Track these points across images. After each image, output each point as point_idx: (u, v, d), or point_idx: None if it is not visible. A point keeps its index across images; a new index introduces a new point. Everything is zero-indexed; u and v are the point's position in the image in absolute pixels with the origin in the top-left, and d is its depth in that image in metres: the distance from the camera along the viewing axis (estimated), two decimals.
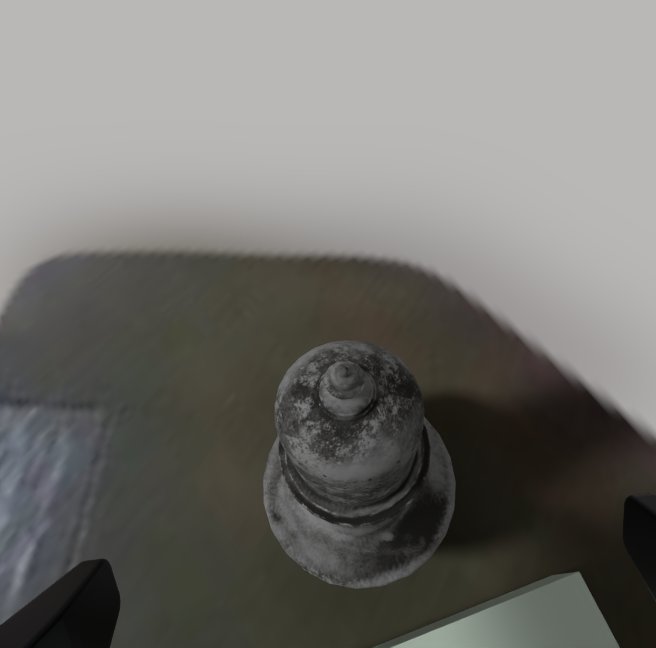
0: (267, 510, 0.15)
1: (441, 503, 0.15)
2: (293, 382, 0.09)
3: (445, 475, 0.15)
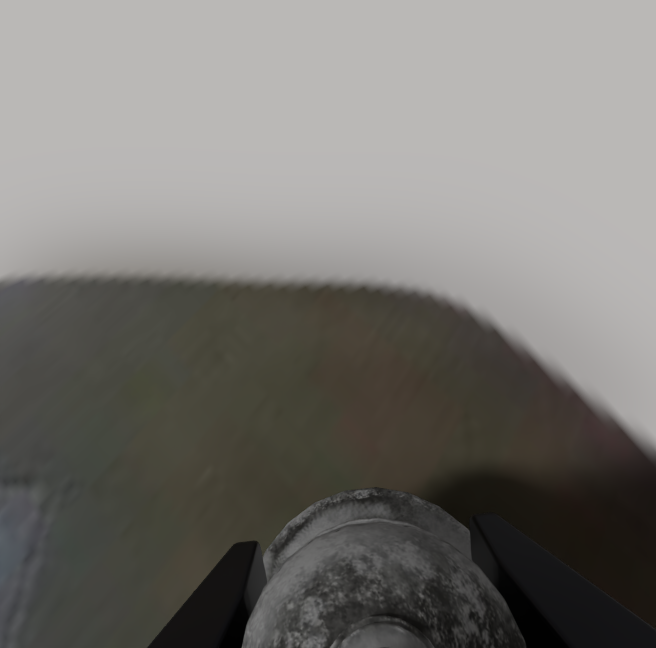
0: None
1: None
2: (272, 640, 0.05)
3: None
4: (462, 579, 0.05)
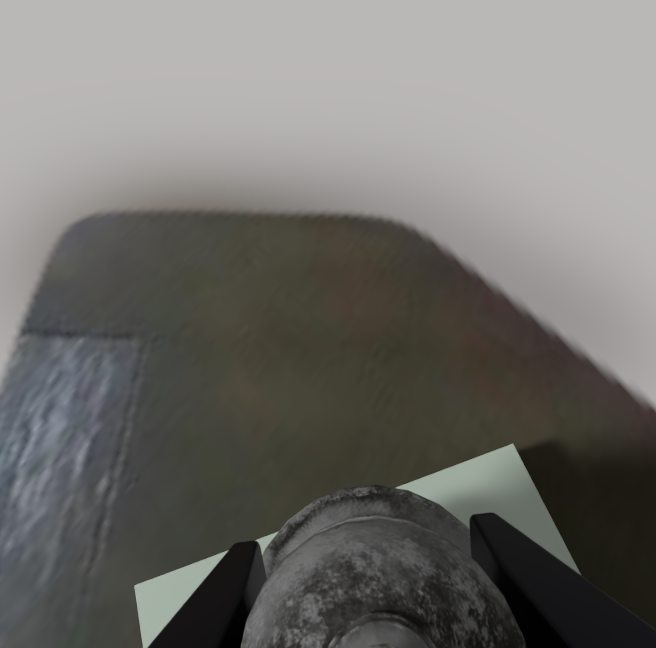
0: None
1: None
2: (272, 637, 0.05)
3: None
4: (461, 576, 0.05)
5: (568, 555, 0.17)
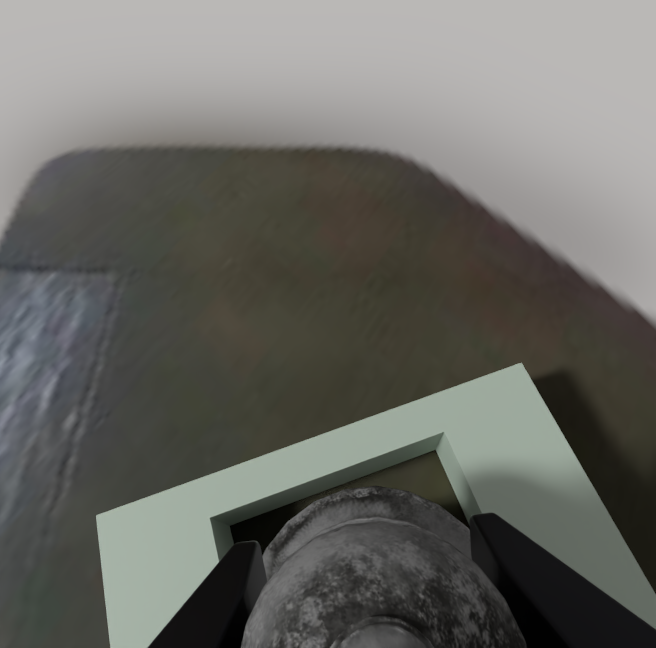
0: None
1: None
2: (271, 640, 0.04)
3: None
4: (462, 579, 0.05)
5: (585, 478, 0.15)
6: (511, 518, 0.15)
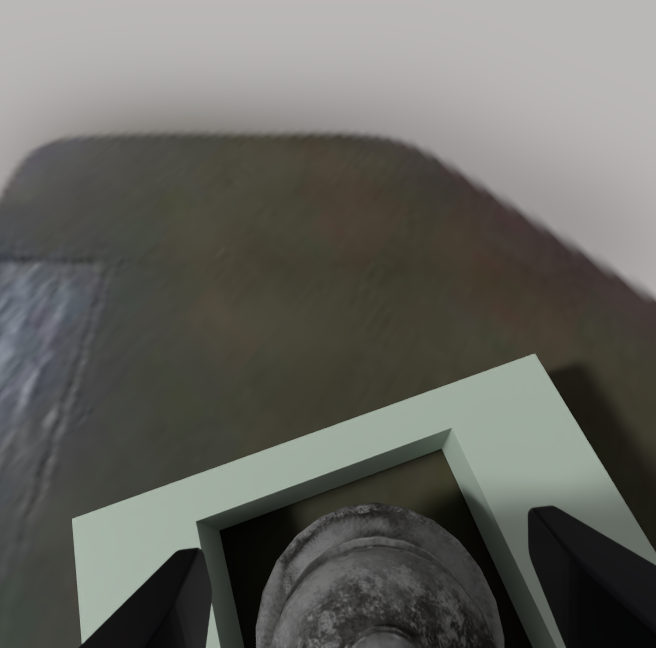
0: None
1: None
2: (296, 645, 0.06)
3: (490, 628, 0.12)
4: (445, 596, 0.06)
5: (607, 478, 0.14)
6: (526, 522, 0.14)
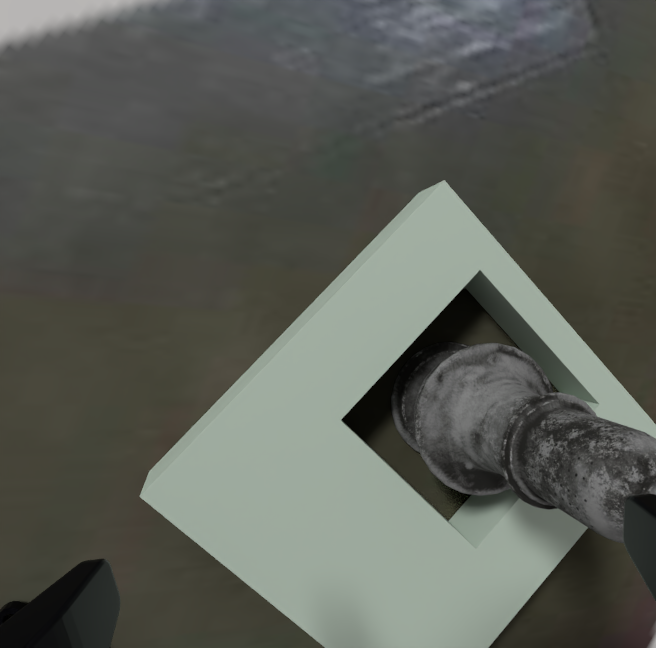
0: (440, 368, 0.18)
1: (499, 485, 0.19)
2: (643, 454, 0.12)
3: None
4: None
5: None
6: None
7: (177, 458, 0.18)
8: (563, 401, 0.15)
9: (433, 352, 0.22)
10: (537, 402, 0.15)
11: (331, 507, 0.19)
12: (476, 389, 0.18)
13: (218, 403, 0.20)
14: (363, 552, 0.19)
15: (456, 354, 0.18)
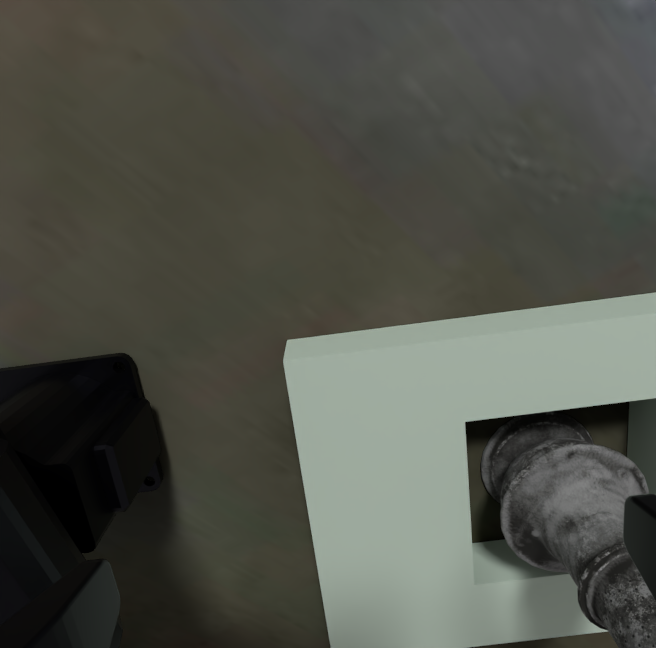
0: (577, 448, 0.19)
1: (540, 561, 0.20)
2: None
3: (557, 567, 0.20)
4: None
5: (591, 632, 0.23)
6: None
7: (330, 355, 0.19)
8: None
9: (561, 421, 0.22)
10: None
11: (403, 476, 0.20)
12: (594, 487, 0.18)
13: (379, 333, 0.20)
14: (397, 523, 0.21)
15: (598, 447, 0.19)
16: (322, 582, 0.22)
